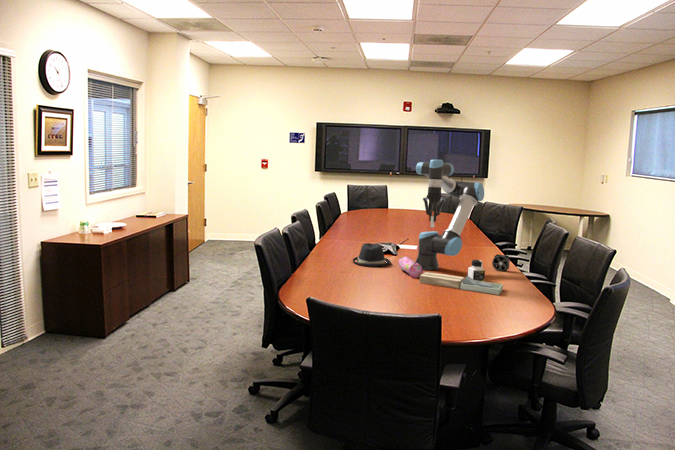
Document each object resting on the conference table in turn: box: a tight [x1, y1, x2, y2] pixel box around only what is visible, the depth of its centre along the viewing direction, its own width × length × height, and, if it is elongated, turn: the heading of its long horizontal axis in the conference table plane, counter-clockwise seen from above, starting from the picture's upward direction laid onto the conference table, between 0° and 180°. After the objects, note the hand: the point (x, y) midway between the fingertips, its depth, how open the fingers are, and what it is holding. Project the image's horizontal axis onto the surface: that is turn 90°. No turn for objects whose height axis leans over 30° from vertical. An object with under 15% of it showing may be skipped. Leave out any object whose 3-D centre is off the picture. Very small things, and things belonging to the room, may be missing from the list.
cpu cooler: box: [491, 254, 511, 272], centre depth 326 cm, size 10×6×10 cm, turn 62°
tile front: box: [479, 281, 493, 288], centre depth 276 cm, size 6×6×3 cm
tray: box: [459, 280, 504, 296], centre depth 277 cm, size 13×20×3 cm, turn 63°
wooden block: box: [418, 271, 465, 290], centre depth 287 cm, size 12×22×4 cm, turn 63°
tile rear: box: [463, 275, 477, 286], centre depth 279 cm, size 6×6×3 cm
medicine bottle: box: [467, 259, 486, 282], centre depth 296 cm, size 7×7×12 cm
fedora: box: [352, 242, 391, 268], centre depth 333 cm, size 25×27×12 cm
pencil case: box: [397, 256, 425, 279], centre depth 307 cm, size 21×9×9 cm, turn 12°
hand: (432, 227), depth 298 cm, fingers closed
